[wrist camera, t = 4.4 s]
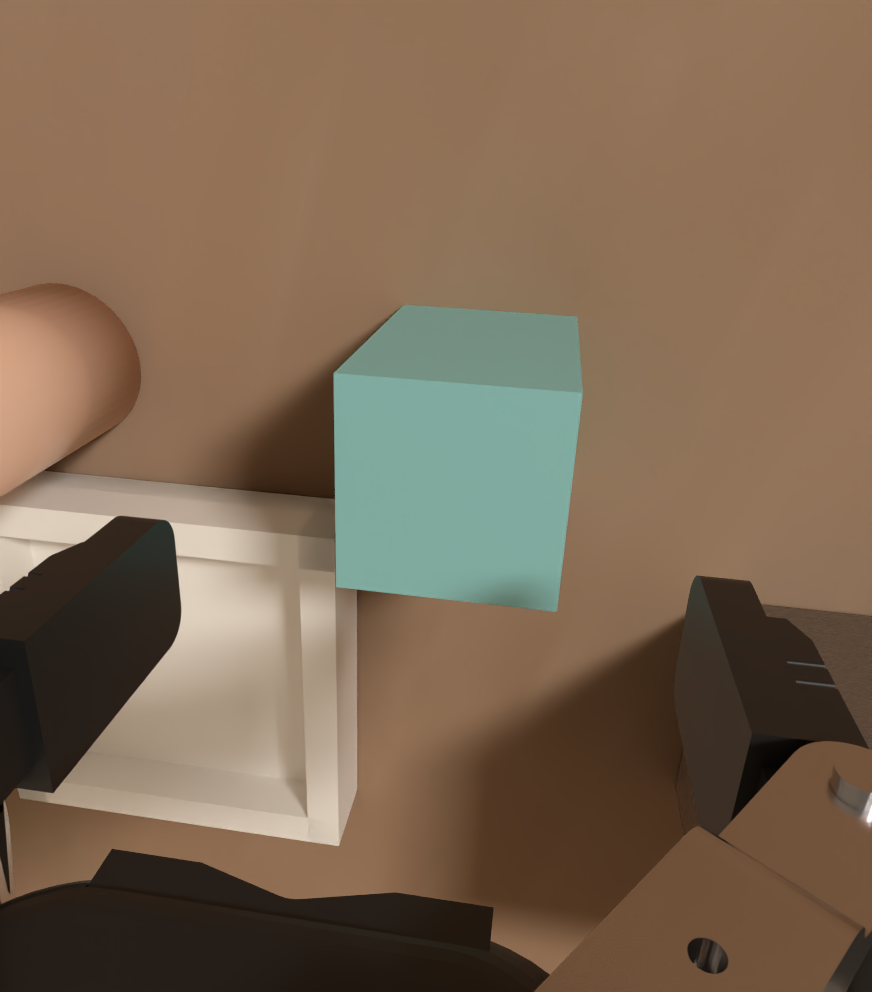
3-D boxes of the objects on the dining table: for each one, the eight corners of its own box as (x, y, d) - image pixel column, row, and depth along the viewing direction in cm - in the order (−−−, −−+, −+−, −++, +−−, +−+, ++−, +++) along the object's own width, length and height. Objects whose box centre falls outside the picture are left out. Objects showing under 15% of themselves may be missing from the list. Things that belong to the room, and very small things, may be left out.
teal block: (403, 304, 21) (333, 373, 15) (577, 316, 20) (582, 392, 14) (400, 464, 23) (336, 586, 16) (559, 479, 22) (556, 611, 16)
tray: (8, 467, 25) (-48, 499, 22) (356, 501, 23) (334, 539, 21) (62, 747, 29) (19, 798, 27) (357, 789, 28) (339, 846, 26)
